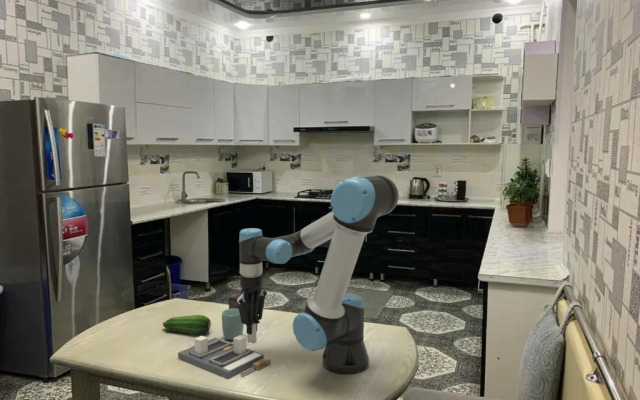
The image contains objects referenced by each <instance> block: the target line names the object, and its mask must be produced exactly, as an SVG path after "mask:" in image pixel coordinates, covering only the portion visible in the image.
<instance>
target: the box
mask: <svg viewBox="0 0 640 400" xmlns="http://www.w3.org/2000/svg"><path fill="white" fill-rule="evenodd" d="M240 296H241V293H239V292H238V293H237V292H235V293H233V294H232V295H230V296H228V309H239V308H238V304H237V303H236V301H235V299H236V298H239V297H240Z"/></svg>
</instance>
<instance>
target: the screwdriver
mask: <svg viewBox="0 0 640 400" xmlns="http://www.w3.org/2000/svg"><path fill="white" fill-rule="evenodd" d="M270 365H271V358H270V357H267V356H264V358H263V359H261V360H259V361H257V362H255V363H253V366H252V367H250V368H248V369H246V370H244V371H242V372H240V376H244V375H246V374H247V373H249V372H251V371H260V370H262V369H265V368H267V366H270Z"/></svg>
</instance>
